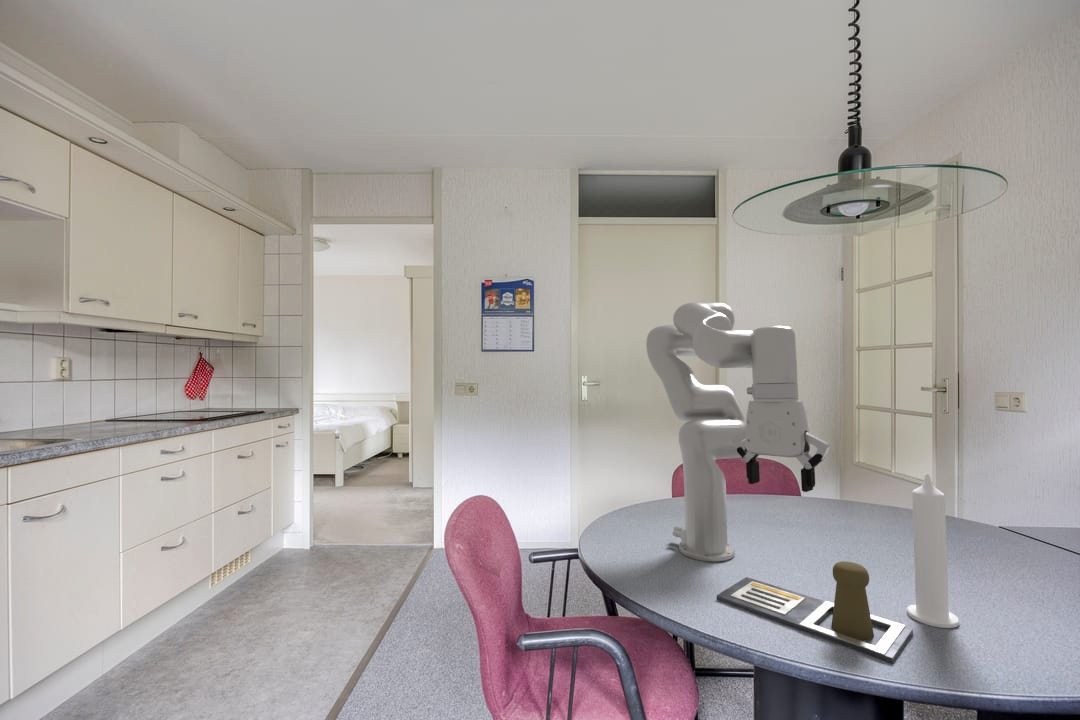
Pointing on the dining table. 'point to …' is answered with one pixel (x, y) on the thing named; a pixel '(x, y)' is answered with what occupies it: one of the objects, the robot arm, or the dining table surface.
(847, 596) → the cork
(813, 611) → the panel
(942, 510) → the candle
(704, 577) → the dining table surface
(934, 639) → the dining table surface
